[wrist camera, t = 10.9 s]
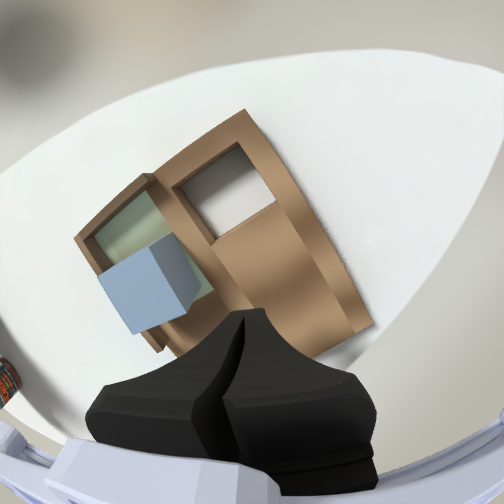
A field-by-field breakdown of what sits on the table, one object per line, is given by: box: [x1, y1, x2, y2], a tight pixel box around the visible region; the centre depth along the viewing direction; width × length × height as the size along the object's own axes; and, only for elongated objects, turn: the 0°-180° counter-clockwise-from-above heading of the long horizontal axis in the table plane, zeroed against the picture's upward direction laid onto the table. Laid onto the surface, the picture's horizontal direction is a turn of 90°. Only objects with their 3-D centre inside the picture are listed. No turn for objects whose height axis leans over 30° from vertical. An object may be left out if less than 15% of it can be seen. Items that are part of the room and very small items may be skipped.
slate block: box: [97, 232, 202, 335], centre depth 16 cm, size 4×4×4 cm
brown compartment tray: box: [74, 109, 373, 358], centre depth 18 cm, size 17×14×4 cm
